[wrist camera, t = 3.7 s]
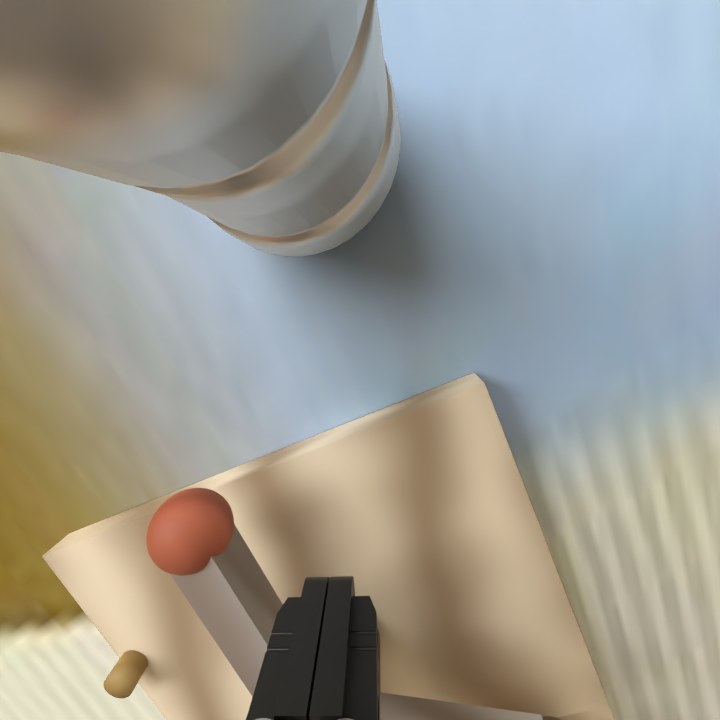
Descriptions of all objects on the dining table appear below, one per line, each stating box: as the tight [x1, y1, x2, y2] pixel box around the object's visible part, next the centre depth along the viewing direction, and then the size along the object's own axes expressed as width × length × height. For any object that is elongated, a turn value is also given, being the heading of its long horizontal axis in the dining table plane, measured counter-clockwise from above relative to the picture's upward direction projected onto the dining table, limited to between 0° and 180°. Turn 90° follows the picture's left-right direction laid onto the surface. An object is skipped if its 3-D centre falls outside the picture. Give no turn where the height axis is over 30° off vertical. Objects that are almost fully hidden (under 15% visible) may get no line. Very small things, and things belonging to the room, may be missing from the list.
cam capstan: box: [146, 488, 561, 720], centre depth 13 cm, size 18×16×7 cm
